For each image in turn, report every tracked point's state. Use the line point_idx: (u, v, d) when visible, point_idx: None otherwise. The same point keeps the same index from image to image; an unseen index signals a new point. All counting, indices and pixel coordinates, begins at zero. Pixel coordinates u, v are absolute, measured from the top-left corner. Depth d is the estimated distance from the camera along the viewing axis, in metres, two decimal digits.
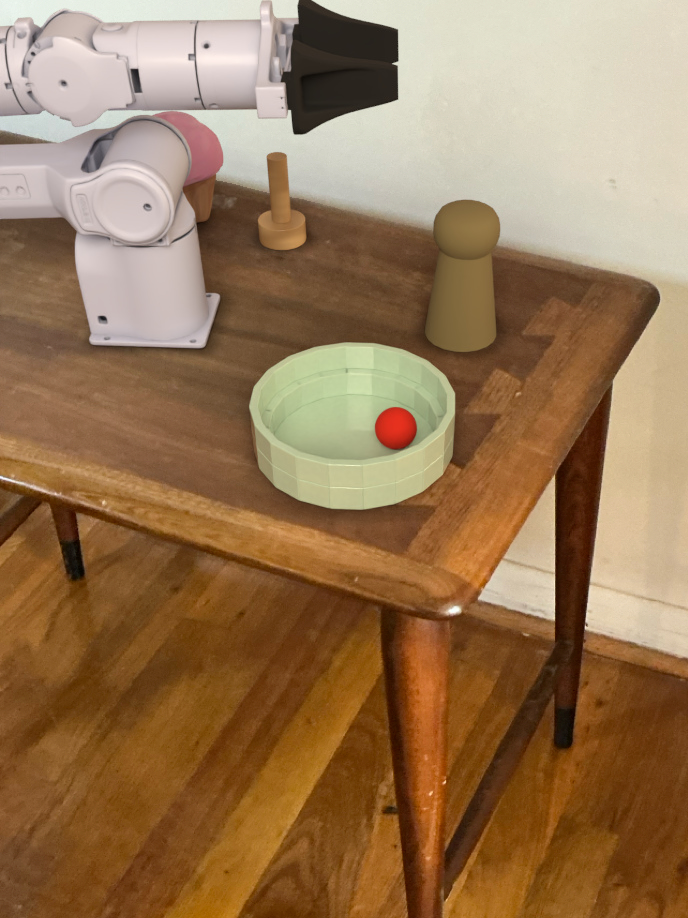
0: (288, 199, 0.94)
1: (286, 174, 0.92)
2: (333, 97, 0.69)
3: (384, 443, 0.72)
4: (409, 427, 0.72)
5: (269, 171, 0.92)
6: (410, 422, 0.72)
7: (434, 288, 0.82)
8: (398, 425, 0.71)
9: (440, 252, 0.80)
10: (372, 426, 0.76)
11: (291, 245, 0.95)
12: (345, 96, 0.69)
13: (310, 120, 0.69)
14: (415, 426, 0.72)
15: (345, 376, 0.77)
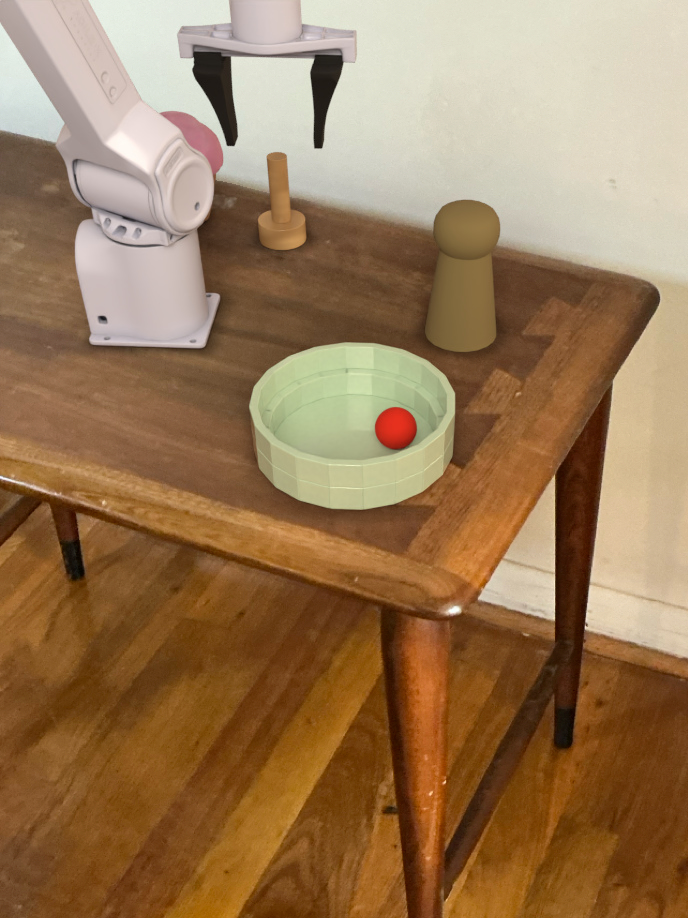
0: (288, 199, 0.94)
1: (286, 174, 0.92)
2: None
3: (384, 443, 0.72)
4: (409, 427, 0.72)
5: (269, 171, 0.92)
6: (410, 422, 0.72)
7: (434, 288, 0.82)
8: (398, 425, 0.71)
9: (440, 252, 0.80)
10: (372, 426, 0.76)
11: (291, 245, 0.95)
12: None
13: None
14: (415, 426, 0.72)
15: (345, 376, 0.77)
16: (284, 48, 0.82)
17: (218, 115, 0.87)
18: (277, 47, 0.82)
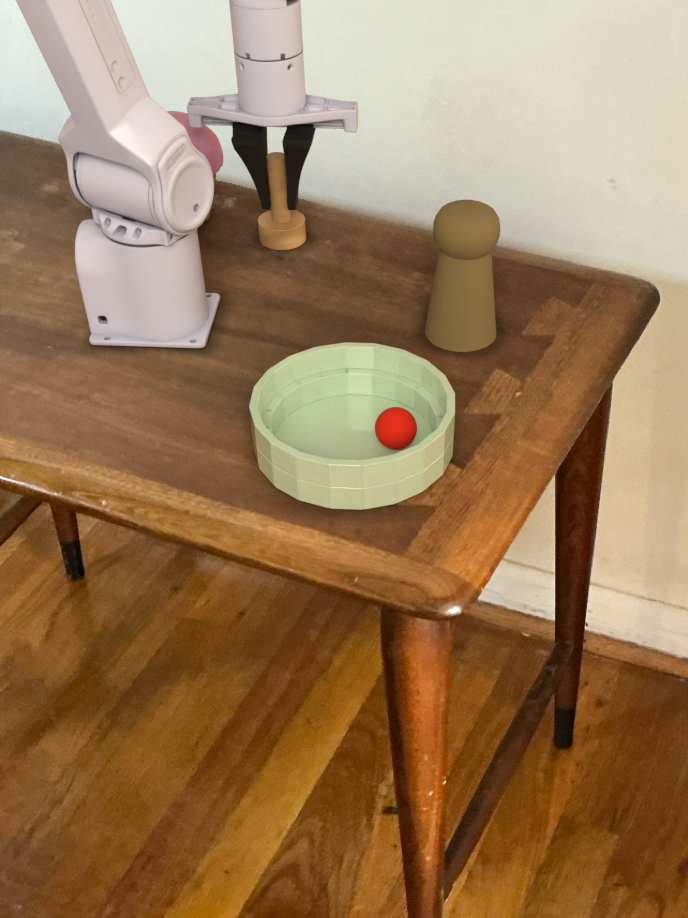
0: None
1: (286, 174, 0.92)
2: None
3: (384, 443, 0.72)
4: (409, 427, 0.72)
5: (269, 171, 0.92)
6: (410, 422, 0.72)
7: (434, 288, 0.82)
8: (398, 425, 0.71)
9: (440, 252, 0.80)
10: (372, 426, 0.76)
11: (291, 245, 0.95)
12: None
13: None
14: (415, 426, 0.72)
15: (345, 376, 0.77)
16: (289, 120, 0.86)
17: (255, 181, 0.91)
18: (282, 119, 0.86)
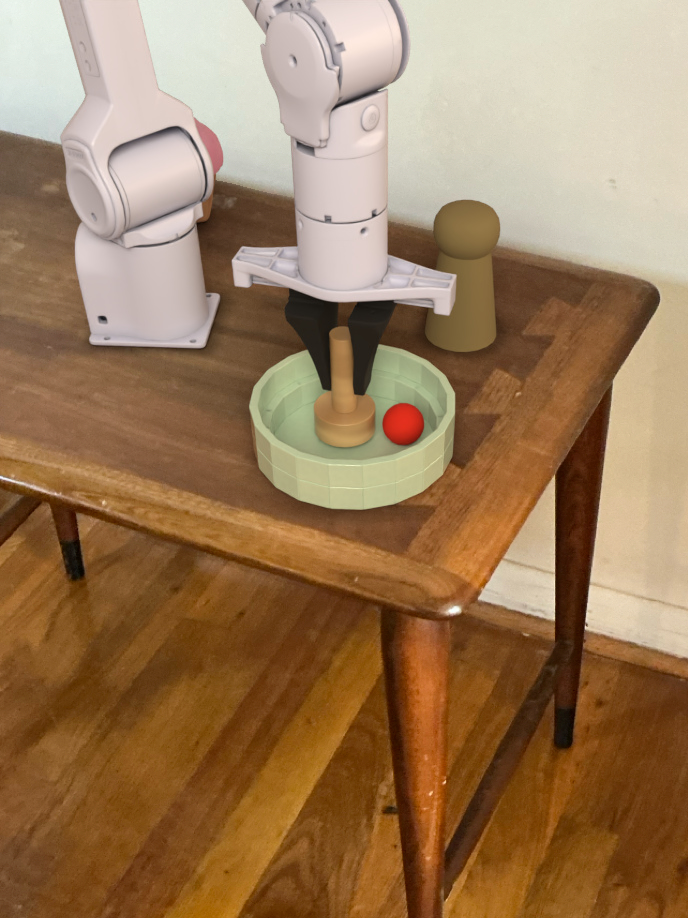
0: (344, 389, 0.71)
1: (343, 359, 0.69)
2: None
3: (389, 432, 0.72)
4: (418, 423, 0.72)
5: None
6: (420, 419, 0.73)
7: None
8: (409, 416, 0.72)
9: (440, 252, 0.80)
10: None
11: (326, 439, 0.73)
12: None
13: None
14: (423, 426, 0.73)
15: None
16: (358, 296, 0.64)
17: (313, 358, 0.70)
18: (349, 294, 0.64)
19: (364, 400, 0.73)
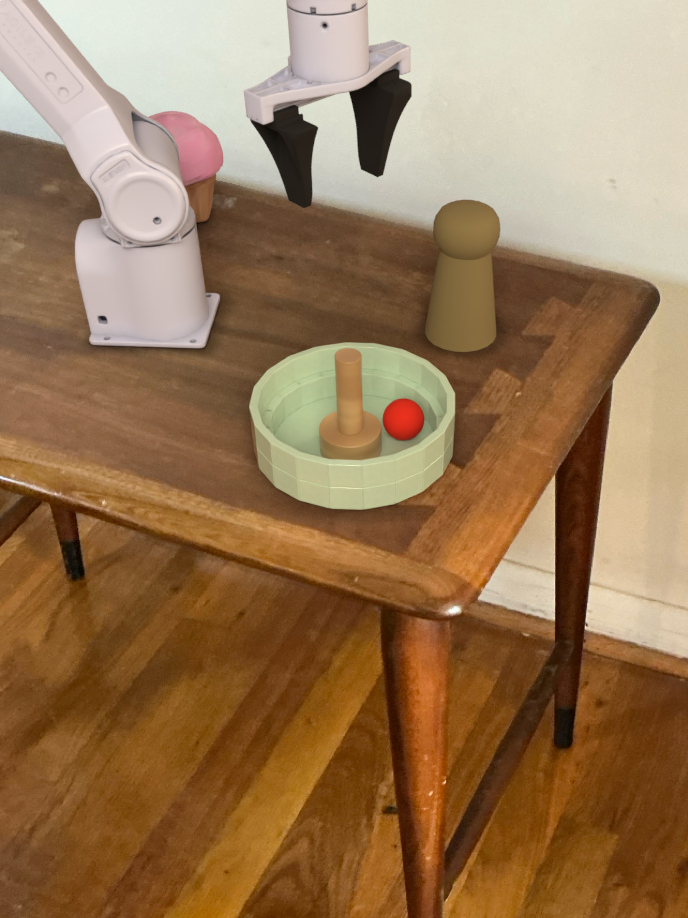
0: (349, 410, 0.70)
1: (348, 382, 0.68)
2: None
3: (393, 424, 0.72)
4: (420, 413, 0.73)
5: None
6: (421, 410, 0.73)
7: (434, 288, 0.82)
8: (411, 406, 0.73)
9: (440, 252, 0.80)
10: None
11: None
12: None
13: None
14: None
15: None
16: (371, 75, 0.75)
17: (303, 175, 0.77)
18: (367, 76, 0.75)
19: (370, 421, 0.73)
